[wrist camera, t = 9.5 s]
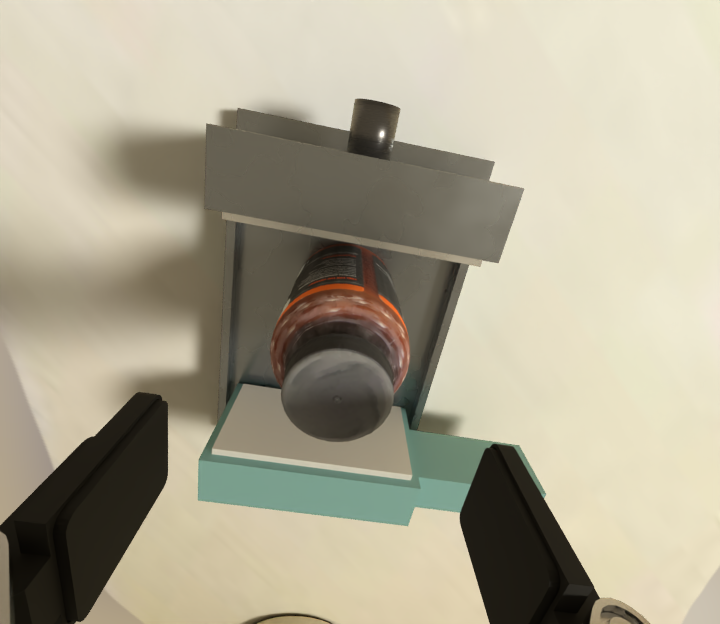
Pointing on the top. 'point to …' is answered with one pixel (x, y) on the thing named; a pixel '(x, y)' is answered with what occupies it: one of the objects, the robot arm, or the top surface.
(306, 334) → the supplement bottle
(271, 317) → the vise
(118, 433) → the robot arm
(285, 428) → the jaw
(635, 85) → the top surface
